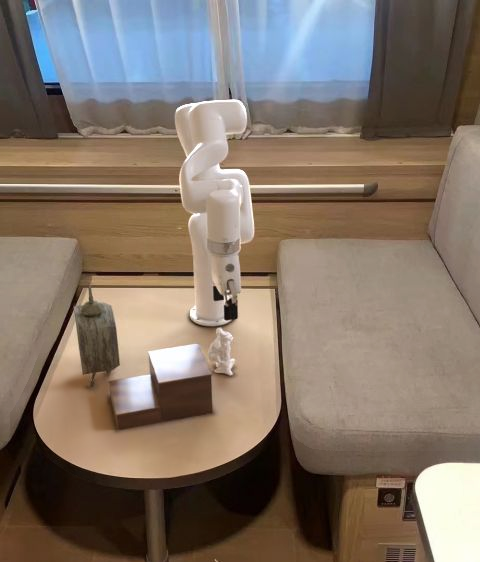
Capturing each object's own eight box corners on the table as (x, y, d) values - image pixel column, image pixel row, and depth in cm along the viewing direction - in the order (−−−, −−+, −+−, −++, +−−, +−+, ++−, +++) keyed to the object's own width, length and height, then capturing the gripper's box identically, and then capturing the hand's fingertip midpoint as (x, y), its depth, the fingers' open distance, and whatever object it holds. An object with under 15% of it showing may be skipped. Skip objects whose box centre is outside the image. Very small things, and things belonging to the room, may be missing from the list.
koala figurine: (240, 376, 187) (240, 335, 182) (214, 380, 186) (212, 339, 180) (232, 358, 194) (231, 318, 189) (206, 362, 193) (205, 321, 188)
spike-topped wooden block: (80, 360, 195) (69, 274, 184) (115, 355, 197) (106, 269, 186) (85, 392, 183) (73, 302, 171) (122, 387, 185) (113, 297, 173)
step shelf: (110, 396, 181) (106, 357, 176) (199, 381, 186) (198, 343, 181) (118, 430, 170) (113, 390, 165) (213, 413, 174) (212, 373, 169)
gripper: (250, 257, 166) (251, 324, 174) (229, 227, 181) (230, 291, 189) (217, 262, 164) (219, 329, 172) (198, 231, 179) (201, 295, 187)
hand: (225, 309), depth 180 cm, fingers open, 9 cm apart
